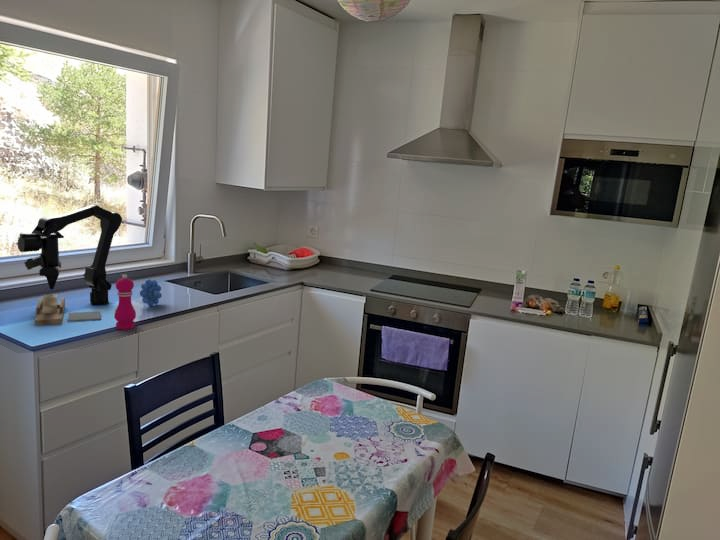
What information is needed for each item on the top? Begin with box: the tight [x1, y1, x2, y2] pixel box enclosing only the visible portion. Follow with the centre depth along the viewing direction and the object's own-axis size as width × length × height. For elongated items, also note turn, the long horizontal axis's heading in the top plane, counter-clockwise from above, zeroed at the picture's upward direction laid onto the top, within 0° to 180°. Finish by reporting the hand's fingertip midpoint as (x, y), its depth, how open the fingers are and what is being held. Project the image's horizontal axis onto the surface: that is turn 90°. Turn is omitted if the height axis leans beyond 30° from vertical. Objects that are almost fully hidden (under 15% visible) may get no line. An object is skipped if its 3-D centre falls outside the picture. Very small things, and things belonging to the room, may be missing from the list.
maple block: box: [42, 294, 59, 313], centre depth 196 cm, size 4×4×6 cm
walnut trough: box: [33, 296, 66, 326], centre depth 197 cm, size 8×24×4 cm, turn 27°
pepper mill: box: [113, 273, 137, 330], centre depth 188 cm, size 7×7×20 cm
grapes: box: [139, 279, 163, 307], centre depth 219 cm, size 12×7×12 cm, turn 158°
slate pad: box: [67, 310, 102, 323], centre depth 199 cm, size 11×11×1 cm
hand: (51, 289), depth 202 cm, fingers closed
